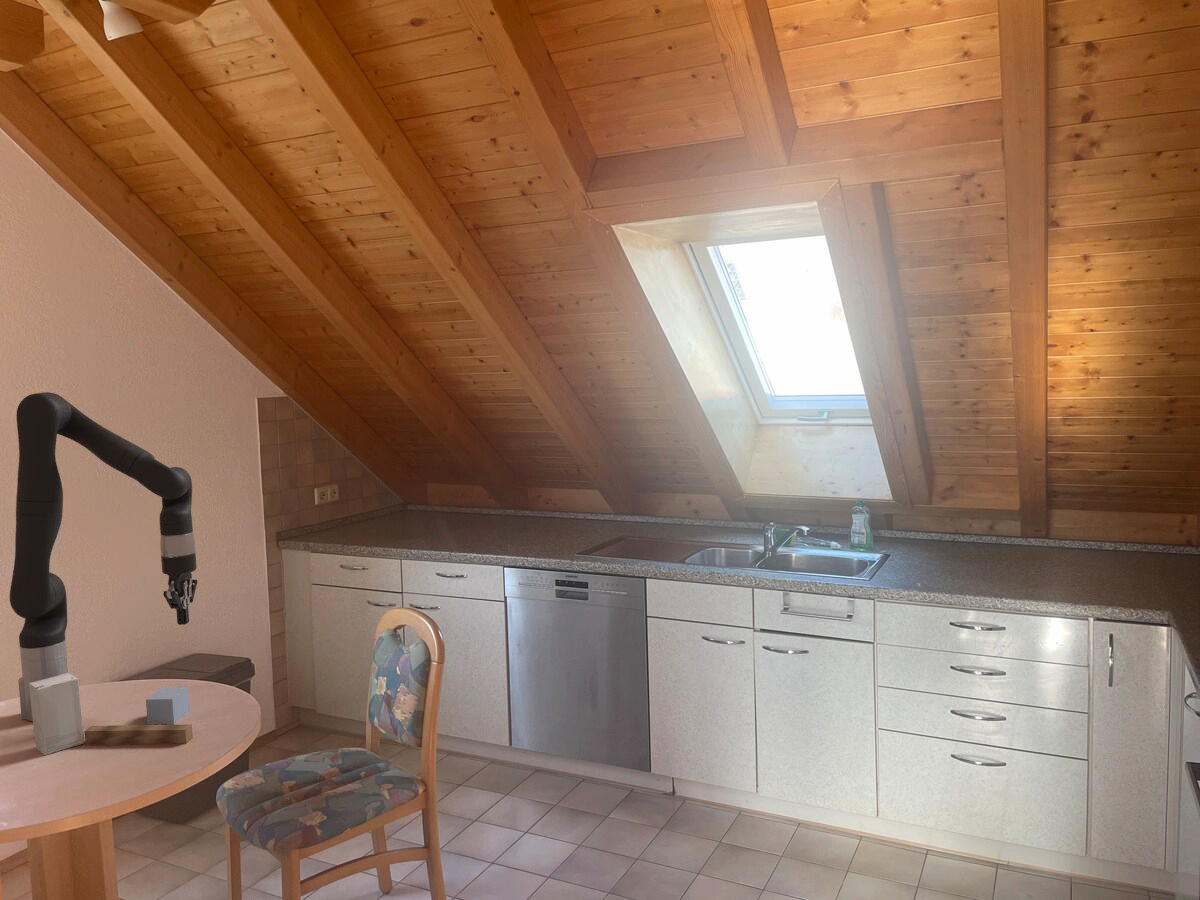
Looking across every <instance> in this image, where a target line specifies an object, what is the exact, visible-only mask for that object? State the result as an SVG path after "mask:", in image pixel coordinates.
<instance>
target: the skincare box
mask: <svg viewBox="0 0 1200 900" xmlns="http://www.w3.org/2000/svg"><path fill="white" fill-rule="evenodd" d="M79 681H80V680H79V678H78V677H76V676H75V675H73V674H71V673H70V672H68V673H65V674H62V675H58V676H55V677H51V678H47V679H44V680H40V681H36V682H32V683H29V692H30V701H31V709H32V718H33V721H32V726H33V733H34V743H35V749H37V751H38V752H40V753H41V754H42V755H44V756H47V755H50V754H54V753H56V752H60V751H64V750H67V749H71V748H72V747H77V746H79V745H82V744H85V735H84V731H85V730H84V725H83V715H82V714H83V713H82V704H81V694H80V684H79Z"/></svg>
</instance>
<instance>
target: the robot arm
mask: <svg viewBox="0 0 1200 900" xmlns="http://www.w3.org/2000/svg"><path fill="white" fill-rule="evenodd" d="M16 427H17V438H18V439H17V440H18V450H19V451H18V452H19V453H18V454H19V455H18V468H17V486H16V500H15V501H16V502H15V539H14V541H15V543H14V545H15V551H14V564H13V571H12V577H11V583H10V588H9V589H10V590H9V603H10V606H11V608H12V610H13V612H14V613H15V614H16V615H17V616H19V617H21V618H23V619H24V624H23V626H22V629H21V631H20V633H19V635H18V644H19V652H20V653H19V655H20V664H21V677H20V678H18V681H17V682H18V692H19V706H20V716H21V720H27V721H29V722H33V718H32V709H31V701H30V692H29V683H32V682H36V681H40V680H44V679H47V678H51V677H55V676H58V675H62V674H65V673H69V666H68V657H67V642H66V629H67V626H68V600H67V598H68V597H67V591H66V587H65V583H64V582H63V580H62V579H61V578H60V576H58V575H57V574H55V573H53V572H50V563H51V556H52V551H53V549H54V546H55V543H56V539H57V538H58V535H59V532H60V529H61V524H62V521H63V511H64V509H63V507H64V505H63V504H64V489H63V483H62V480H61V475H60V471H59V469H58V465H57V459H56V458H57V457H56V448H57V447H56V446H57V437H58V435H59V436H63V437H65V438H67V439H69V440H72V441H74V442H76V444H79V445H80V446H82V447H83V448H85V449H86V450H88V451H89V452H91V453H92V454H93V455H94V456H96V457H97V458H98V459H99V460H100V461H102V462H103V463H104V464H106V465H107V466H108V467H110V468H113V469H114V470H116V471H118V472H120V473H122V474H124V476H127V477H129V478H131V479H133V480H135V481H137V482H138V483H139V484H140V485H142V486H143V487H144V488H146V489H147V490H148V491H150V492H151V493H152V494H155V495H156V496H158V497H160V498H161V511H160V513H159V532H160V533H159V534H160V541H159V542H160V543H159V544H160V545H159V546H160V547H159V548H160V558H161V559H160V560H161V572H162V574H164V575H167V576H168V580H167V586H168V589H167V590H164V591H163V597H164V598H165V601H166V602H167V604H168V605H169V607H170V609H174V610H176V622H177V623H176V624H178V625H179V626H180V625H181V626H182V625H184V626H185V625H187V624H188V623H190V611H189V608H190V605H191V604H192V603H193V602H194V598H195V594H196V589H197V587H198V586H197V585H198V580H197V579H193V575H192V573H193V572H195V571H197V556H196V555H197V554H196V541H195V536H194V527H193V517H192V502H193V499H192V498H193V482H192V478H191V475H190V474H189V472H188V470H186V469H184V468H183V467H178V466H173V467H169V466H167V465H166V464H164V463H162V462H160V461H159V460H157V459H155V456H154V455H153V454H152V453H151V452H149V451H147V450H146V449H144V448H142V447H140V446H139V445H137V444H135V443H133V442H131V441H129V440H127V439H125V438H123V437H122V436H120V435H118V434H117V433H115V432H114V431H113V432H112V431H111V430H109V429H107V428H106V427H104V426H103V425H101V424H100V423H98V422H96V421H94V420H93V419H91V418H90V417H89V416H87V415H86V414H85V413H83V412H82V411H81V410H79V409H78V408H77V407H76V406H74V405H73V404H71V403H70V402H69V401H68V400H67V399H65V398H64V397H62V396H61V395H59V394H57V393H55V392H50V391H49V392H48V391H47V392H46V391H44V392H43V391H42V392H36V393H31V394H29V395H27V396H25V397H23V399H21V401H20V402H19V404H18V406H17V409H16Z"/></svg>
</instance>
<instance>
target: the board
mask: <svg viewBox="0 0 1200 900" xmlns="http://www.w3.org/2000/svg"><path fill="white" fill-rule="evenodd" d="M83 731H84V741H85V743H84V745H85V746H87V745H92V746H93V745H95V746H97V745H153V744H155V745H156V744H157V745H159V744H161V745H162V744H163V745H164V744H165V745H166V744H170V745H171V744H173V745H174V744H188V743H189V742H191V740H192V739H193V737H194V736H193V724H192V723H191V724H189V723H188V724H171V725H148V724H133V725H132V724H130V725H129V724H125V725H120V724H119V725H118V724H117V725H91V726H90V727H87V729H85V730H83Z"/></svg>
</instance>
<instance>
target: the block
mask: <svg viewBox="0 0 1200 900" xmlns="http://www.w3.org/2000/svg"><path fill="white" fill-rule="evenodd" d="M189 695H190V694H189V687H188V686H177V687H176V686H175V687H174V686H171V687H170V686H168V687H167V686H165V687H163V686H162V687H161V688H160V689H159V690H156V692H154V693H153V694H152V695H149V697H147V698H146V699H145V705H146V720H147V725H154V724H156V725H157V724H167V725H170V724H171V725H176V723H178V722H179V721H180V720H181V719H182V718H184V717H185V716H186V715H187V714H188V713H189V712H190V711H191V710H190V699H189V698H190V697H189Z"/></svg>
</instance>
